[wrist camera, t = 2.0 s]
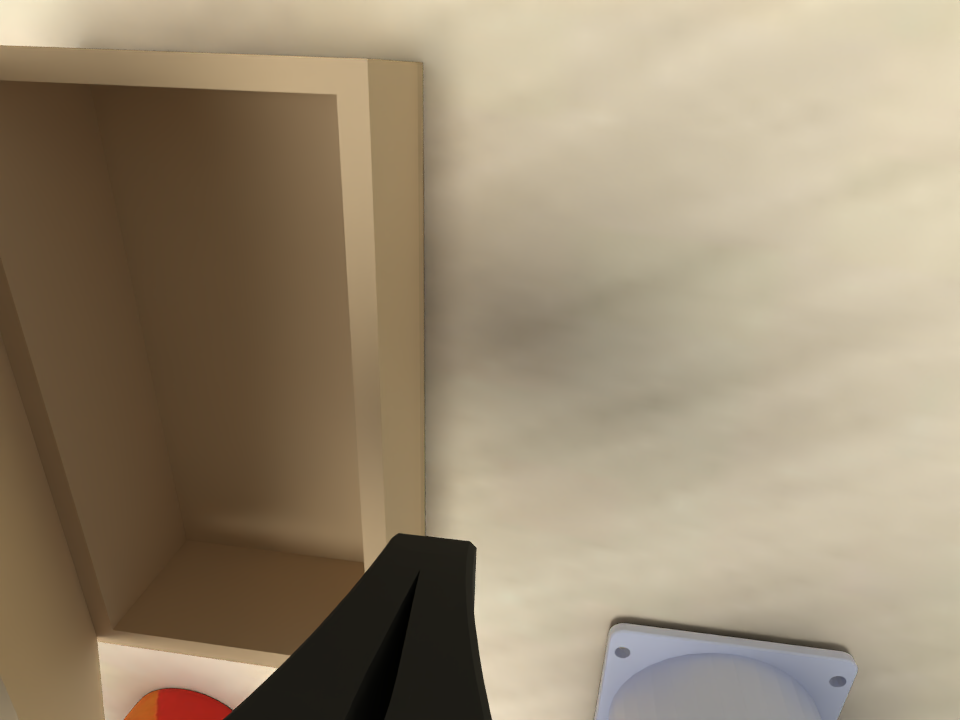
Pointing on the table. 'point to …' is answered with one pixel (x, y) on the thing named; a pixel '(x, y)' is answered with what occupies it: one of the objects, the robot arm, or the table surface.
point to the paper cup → (178, 706)
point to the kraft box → (217, 329)
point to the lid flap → (38, 587)
